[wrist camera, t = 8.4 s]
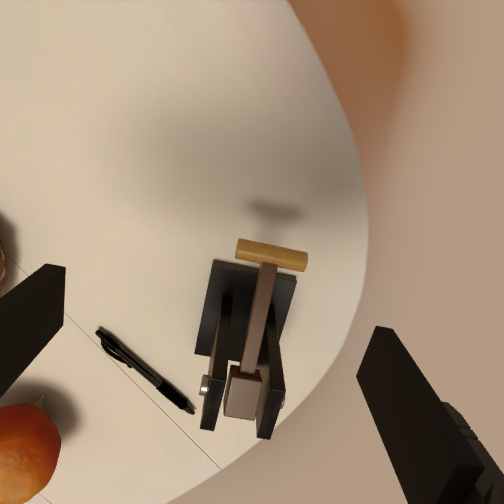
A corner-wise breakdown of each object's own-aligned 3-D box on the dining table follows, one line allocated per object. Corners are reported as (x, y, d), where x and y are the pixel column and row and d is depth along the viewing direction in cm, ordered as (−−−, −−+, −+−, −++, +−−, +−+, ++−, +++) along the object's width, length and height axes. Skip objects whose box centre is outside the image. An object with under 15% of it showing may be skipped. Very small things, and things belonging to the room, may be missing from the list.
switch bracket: (213, 259, 34) (195, 338, 23) (295, 276, 35) (320, 360, 23) (195, 346, 38) (172, 455, 26) (270, 360, 39) (281, 471, 27)
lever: (237, 237, 27) (239, 238, 25) (303, 251, 27) (311, 253, 25) (204, 397, 27) (203, 412, 25) (269, 408, 28) (274, 424, 25)
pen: (91, 333, 37) (87, 340, 36) (102, 324, 37) (98, 330, 36) (187, 414, 41) (185, 422, 40) (198, 407, 41) (197, 414, 40)
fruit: (91, 433, 43) (46, 528, 35) (14, 428, 44) (-47, 521, 35) (67, 378, 38) (8, 475, 30) (-19, 374, 38) (-100, 467, 30)
